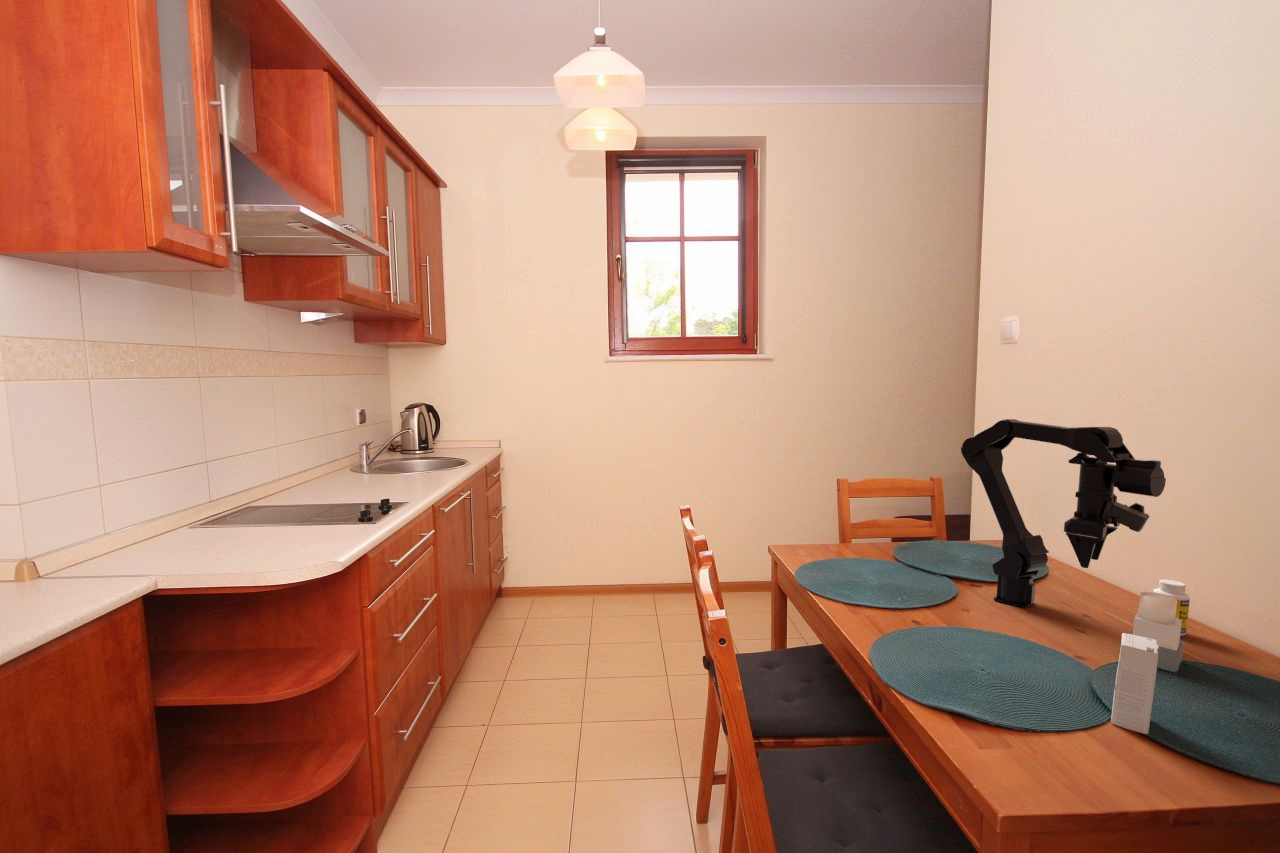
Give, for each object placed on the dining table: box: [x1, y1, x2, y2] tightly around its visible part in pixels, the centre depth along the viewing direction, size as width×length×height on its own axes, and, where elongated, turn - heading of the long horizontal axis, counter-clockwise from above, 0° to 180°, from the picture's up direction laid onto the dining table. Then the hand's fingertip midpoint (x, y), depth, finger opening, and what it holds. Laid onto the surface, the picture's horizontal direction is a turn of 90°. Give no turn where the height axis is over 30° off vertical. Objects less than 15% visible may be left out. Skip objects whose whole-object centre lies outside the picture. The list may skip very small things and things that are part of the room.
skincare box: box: [1110, 632, 1159, 735], centre depth 86 cm, size 6×4×12 cm
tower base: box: [1130, 630, 1185, 670], centre depth 108 cm, size 7×7×4 cm
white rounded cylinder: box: [1137, 591, 1177, 624], centre depth 107 cm, size 5×5×4 cm
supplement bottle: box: [1152, 578, 1191, 637], centre depth 121 cm, size 6×6×10 cm
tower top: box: [1132, 609, 1182, 651], centre depth 107 cm, size 6×6×4 cm
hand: (1089, 563), depth 123 cm, fingers open, 9 cm apart
